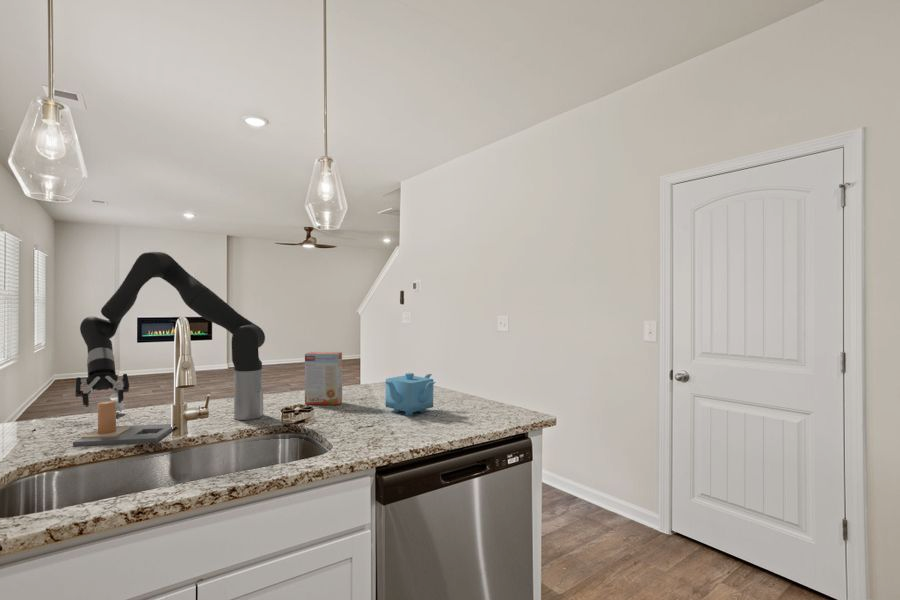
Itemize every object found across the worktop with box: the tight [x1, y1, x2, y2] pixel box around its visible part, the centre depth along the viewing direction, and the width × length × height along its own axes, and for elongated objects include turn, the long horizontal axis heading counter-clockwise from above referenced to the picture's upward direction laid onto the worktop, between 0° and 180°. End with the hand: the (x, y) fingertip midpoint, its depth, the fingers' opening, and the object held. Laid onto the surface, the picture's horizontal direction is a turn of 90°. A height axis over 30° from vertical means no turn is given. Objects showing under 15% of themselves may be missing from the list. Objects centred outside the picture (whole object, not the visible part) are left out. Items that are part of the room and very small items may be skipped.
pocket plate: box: [72, 423, 172, 447], centre depth 145 cm, size 22×16×2 cm
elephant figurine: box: [96, 393, 129, 414], centre depth 171 cm, size 8×10×7 cm
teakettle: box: [384, 372, 437, 417], centre depth 177 cm, size 19×19×15 cm
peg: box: [97, 401, 117, 434], centre depth 144 cm, size 4×4×9 cm
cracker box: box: [304, 351, 343, 406], centre depth 190 cm, size 14×6×21 cm, turn 84°
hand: (103, 403), depth 151 cm, fingers open, 8 cm apart
